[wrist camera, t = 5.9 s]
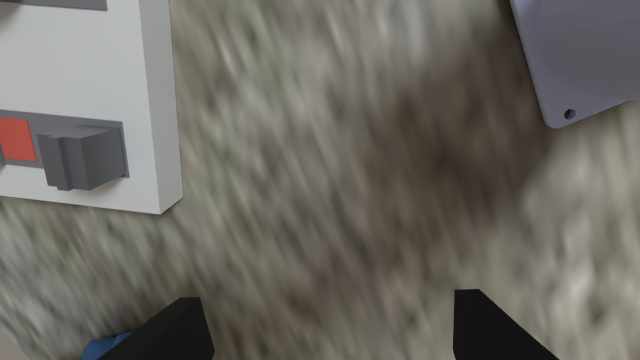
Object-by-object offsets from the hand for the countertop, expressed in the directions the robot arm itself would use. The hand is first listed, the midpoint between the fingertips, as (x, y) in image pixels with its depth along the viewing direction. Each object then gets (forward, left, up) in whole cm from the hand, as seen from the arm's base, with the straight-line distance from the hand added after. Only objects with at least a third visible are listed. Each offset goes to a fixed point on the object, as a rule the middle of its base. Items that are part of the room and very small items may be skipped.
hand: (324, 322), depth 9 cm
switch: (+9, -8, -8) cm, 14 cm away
